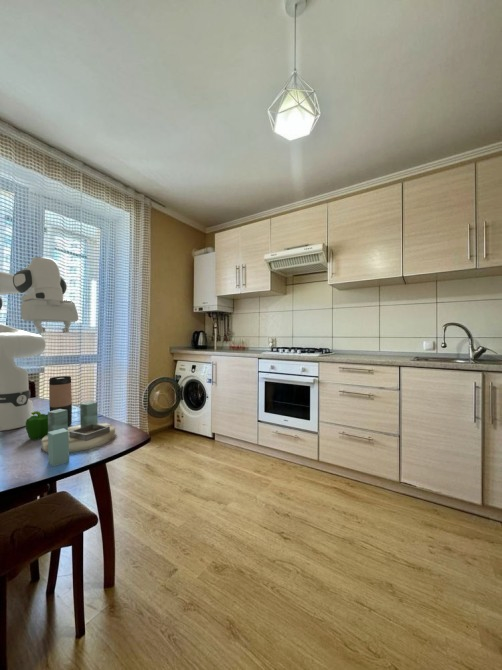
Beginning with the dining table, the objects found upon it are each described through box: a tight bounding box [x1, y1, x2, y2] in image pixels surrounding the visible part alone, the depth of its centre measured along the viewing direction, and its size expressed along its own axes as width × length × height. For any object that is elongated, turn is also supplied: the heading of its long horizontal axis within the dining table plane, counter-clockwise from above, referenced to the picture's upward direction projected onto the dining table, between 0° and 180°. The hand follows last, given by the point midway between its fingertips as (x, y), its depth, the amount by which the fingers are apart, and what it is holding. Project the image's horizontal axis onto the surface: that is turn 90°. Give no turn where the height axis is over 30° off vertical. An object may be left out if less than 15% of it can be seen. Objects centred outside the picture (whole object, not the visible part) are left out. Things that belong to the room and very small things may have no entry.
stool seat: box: [41, 401, 116, 454], centre depth 98 cm, size 22×22×12 cm
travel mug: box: [48, 375, 73, 427], centre depth 114 cm, size 8×8×20 cm
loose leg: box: [47, 428, 70, 467], centre depth 81 cm, size 4×4×9 cm
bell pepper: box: [25, 410, 48, 441], centre depth 101 cm, size 8×8×10 cm
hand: (54, 332), depth 108 cm, fingers open, 8 cm apart
